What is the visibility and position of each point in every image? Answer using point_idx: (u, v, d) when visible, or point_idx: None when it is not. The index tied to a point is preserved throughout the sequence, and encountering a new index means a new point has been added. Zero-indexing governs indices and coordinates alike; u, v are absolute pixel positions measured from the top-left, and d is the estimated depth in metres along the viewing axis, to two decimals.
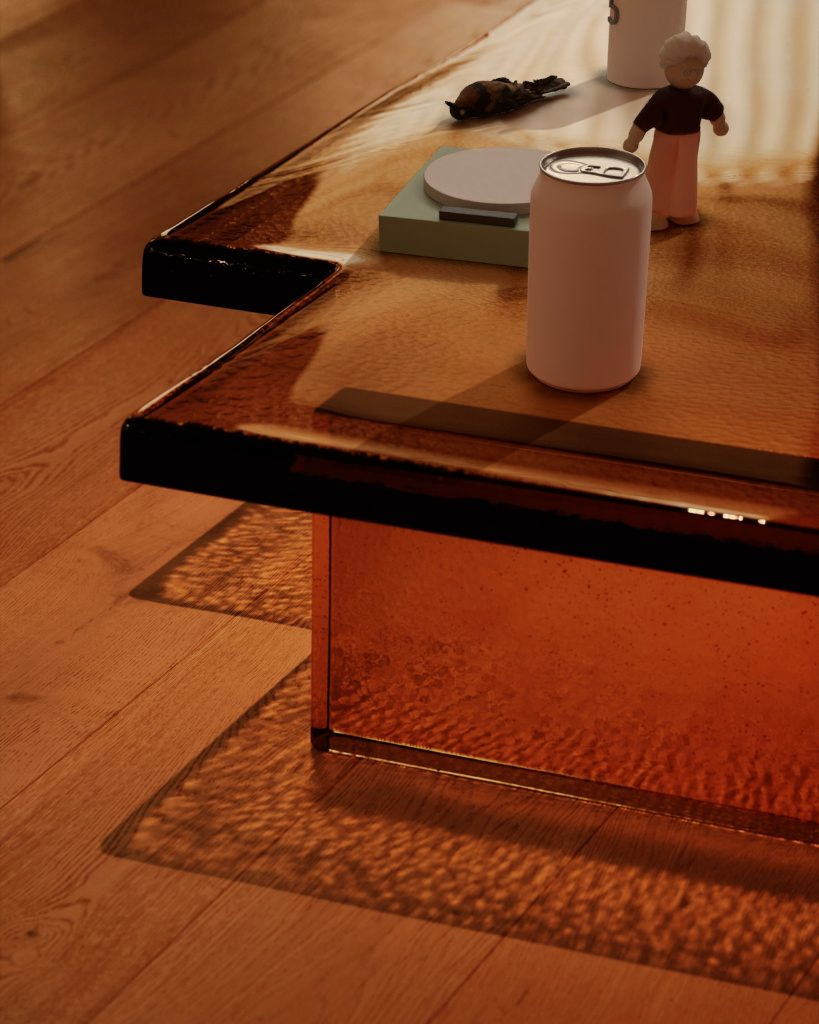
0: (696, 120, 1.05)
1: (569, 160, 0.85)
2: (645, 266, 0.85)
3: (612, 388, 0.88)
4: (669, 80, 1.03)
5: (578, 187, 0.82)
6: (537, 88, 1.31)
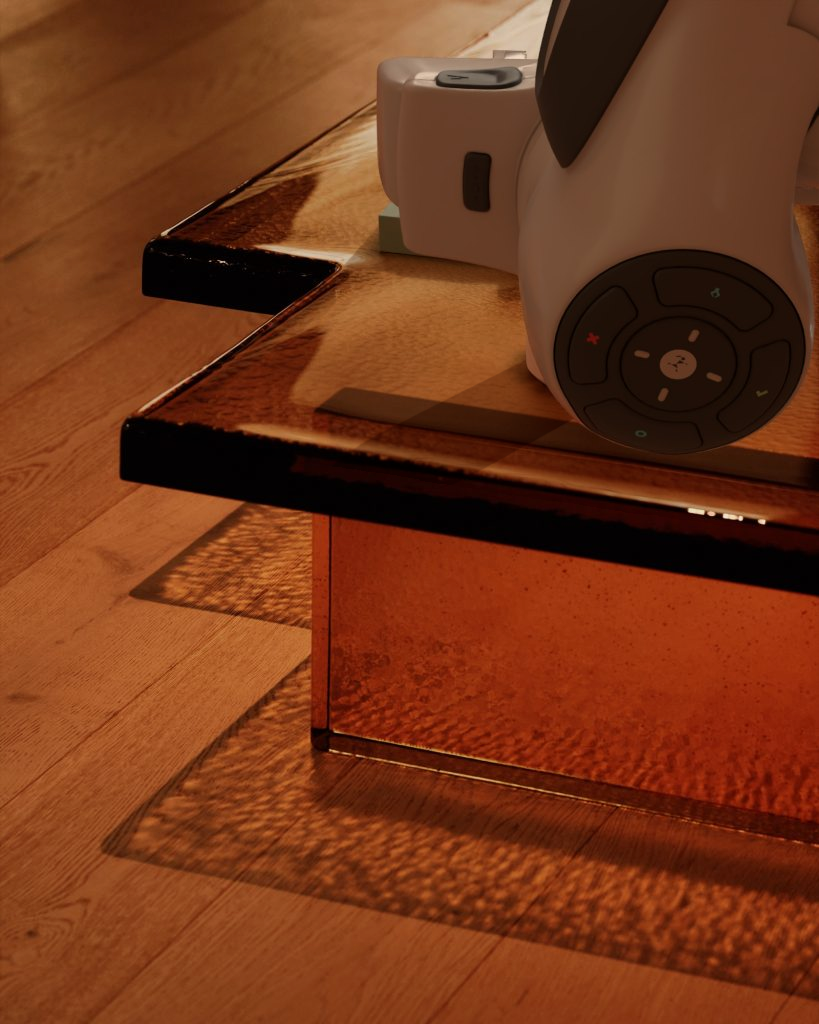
0: None
1: None
2: None
3: None
4: None
5: None
6: None
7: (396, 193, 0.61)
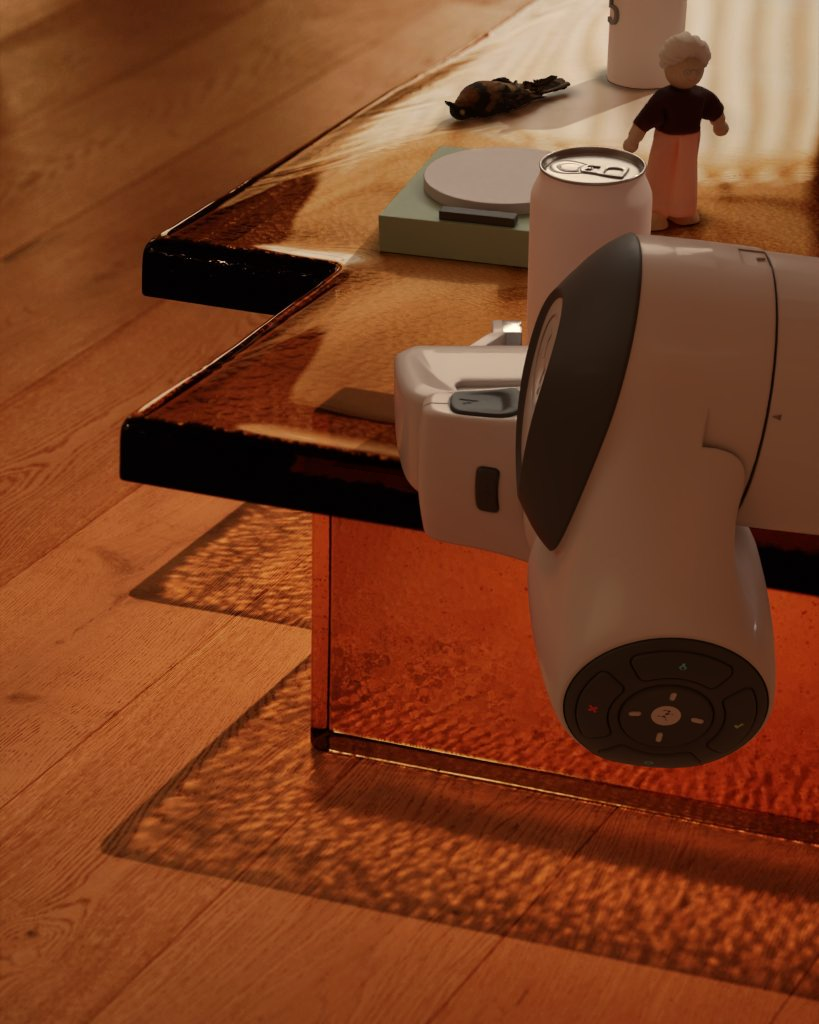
0: (696, 120, 1.05)
1: (569, 160, 0.85)
2: None
3: None
4: (669, 80, 1.03)
5: (578, 187, 0.82)
6: (537, 88, 1.31)
7: (415, 481, 0.71)
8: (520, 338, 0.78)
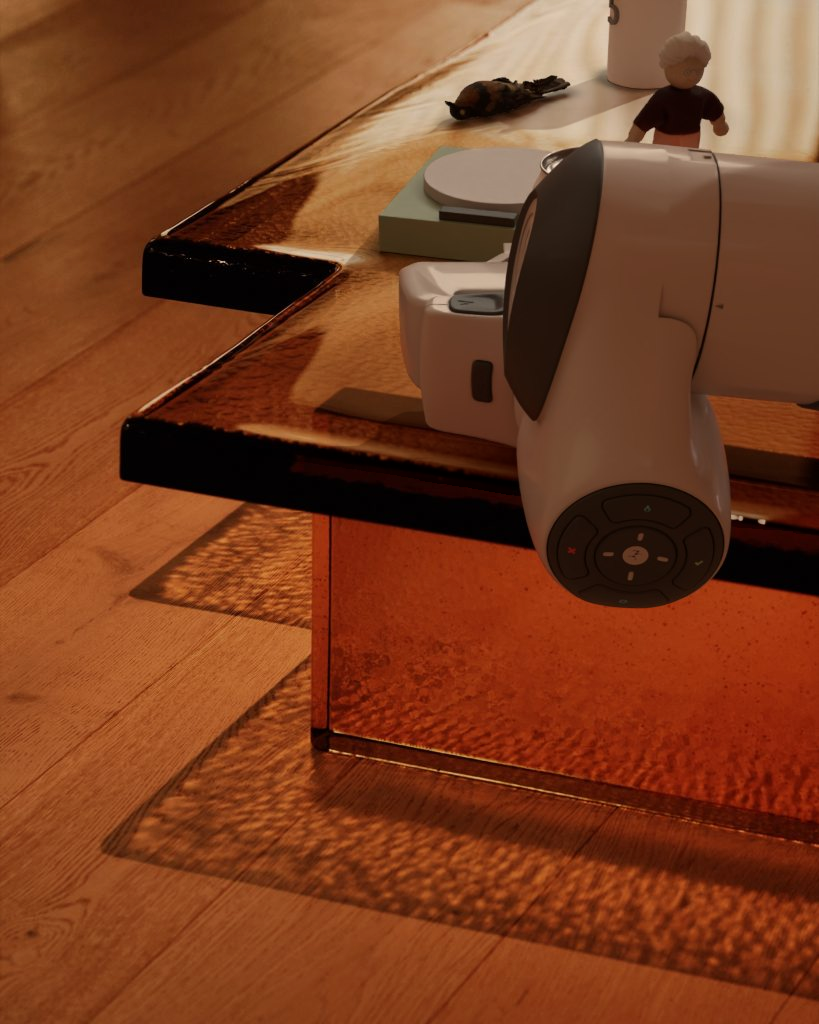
0: (696, 120, 1.05)
1: None
2: None
3: None
4: (669, 80, 1.03)
5: None
6: (537, 88, 1.31)
7: (418, 379, 0.79)
8: None
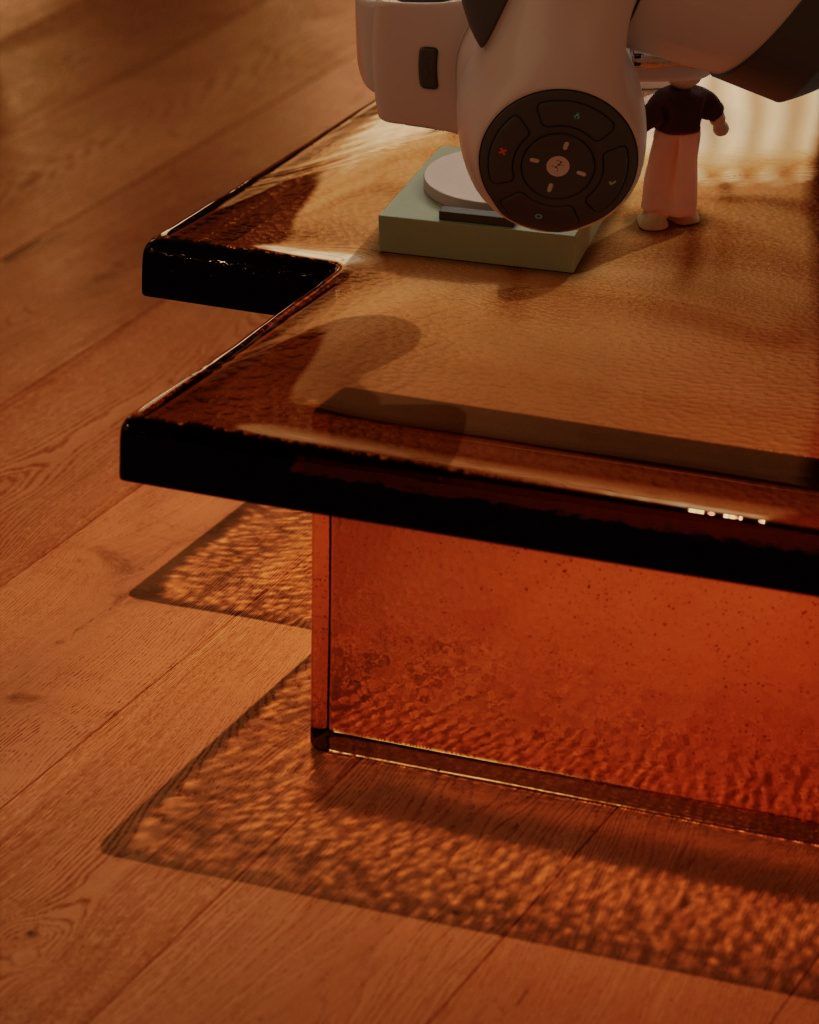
0: (696, 120, 1.05)
1: None
2: None
3: None
4: None
5: None
6: None
7: (372, 81, 0.86)
8: None
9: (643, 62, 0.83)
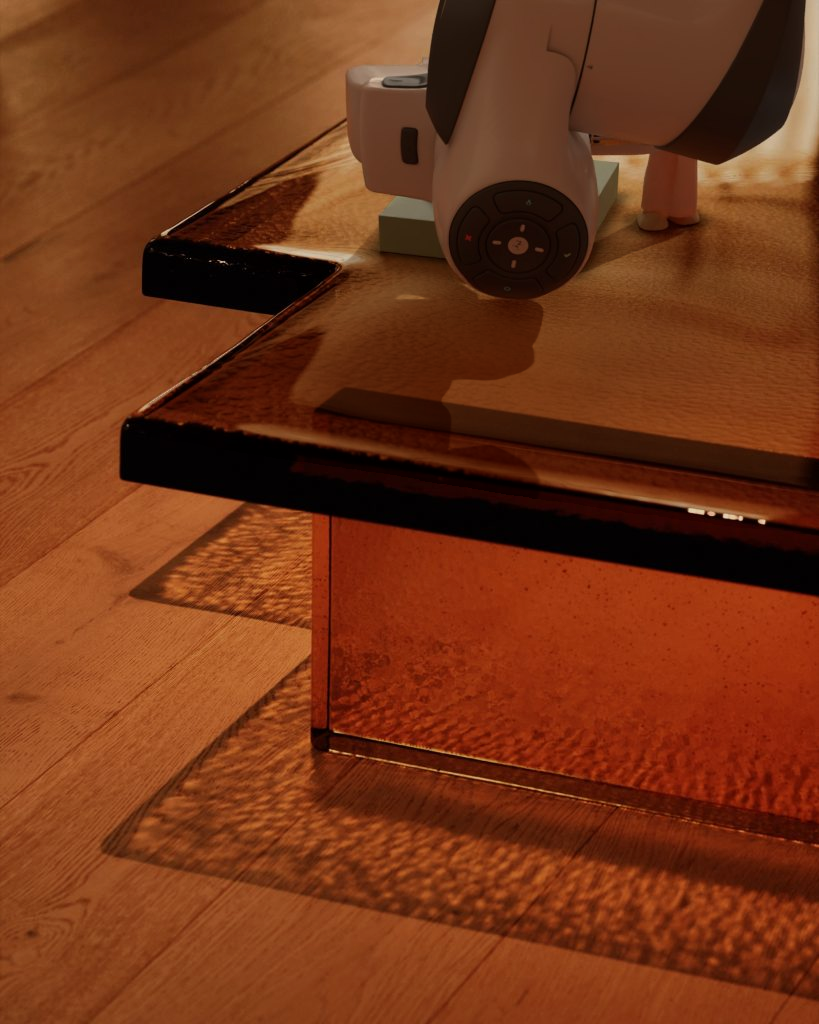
0: None
1: None
2: None
3: None
4: None
5: None
6: None
7: (360, 154, 0.96)
8: None
9: (602, 140, 0.93)
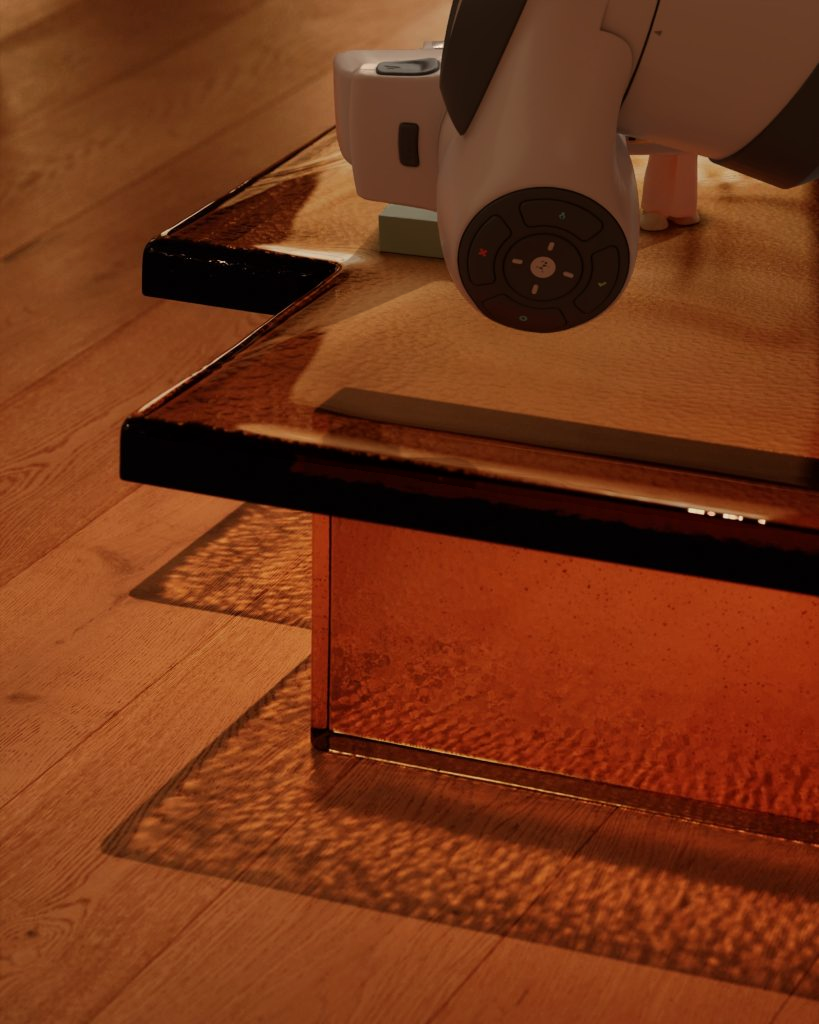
0: None
1: None
2: None
3: None
4: None
5: None
6: None
7: (350, 155, 0.81)
8: None
9: None
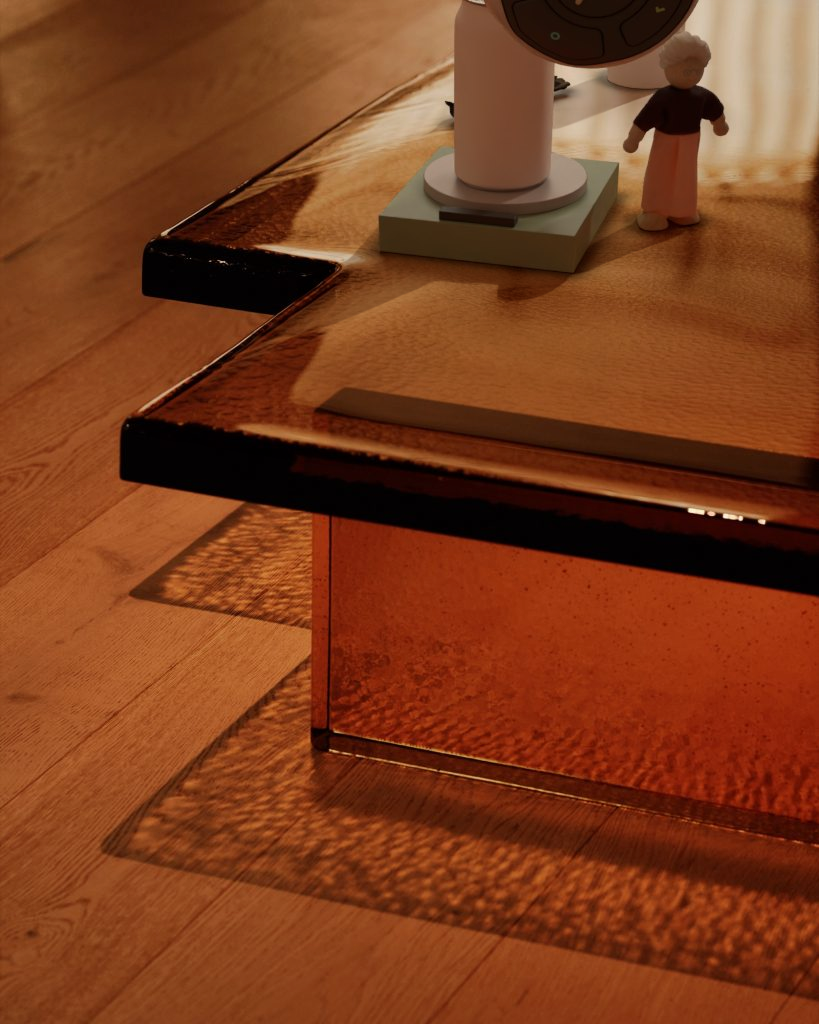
0: (696, 120, 1.05)
1: None
2: (550, 81, 1.02)
3: (525, 188, 1.05)
4: (669, 80, 1.03)
5: None
6: None
7: None
8: None
9: None
